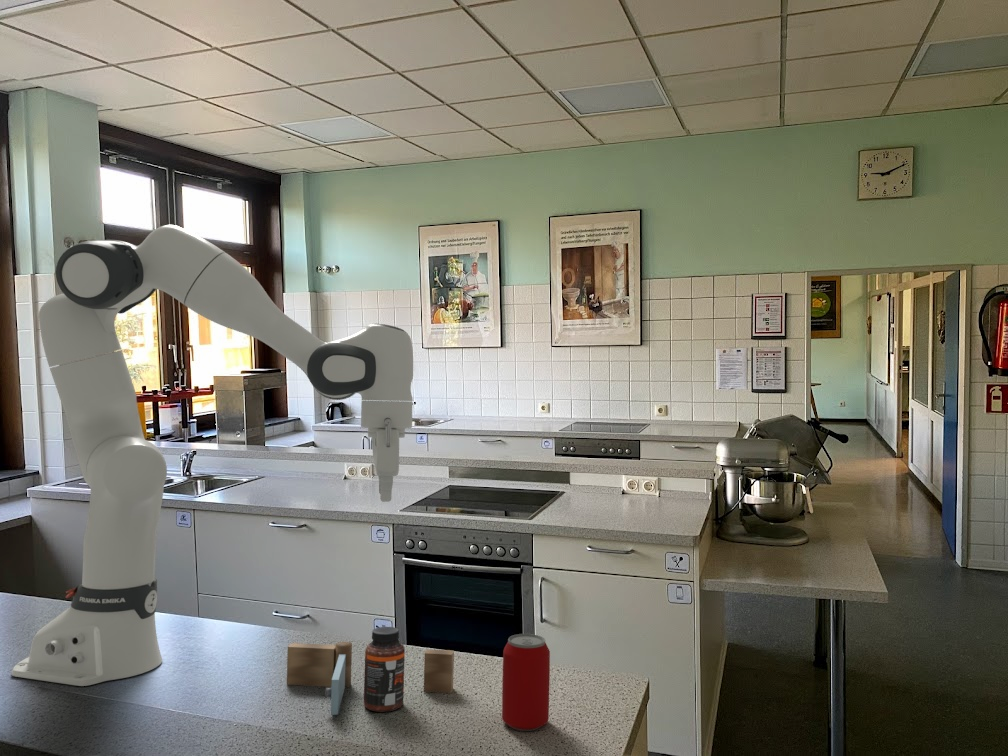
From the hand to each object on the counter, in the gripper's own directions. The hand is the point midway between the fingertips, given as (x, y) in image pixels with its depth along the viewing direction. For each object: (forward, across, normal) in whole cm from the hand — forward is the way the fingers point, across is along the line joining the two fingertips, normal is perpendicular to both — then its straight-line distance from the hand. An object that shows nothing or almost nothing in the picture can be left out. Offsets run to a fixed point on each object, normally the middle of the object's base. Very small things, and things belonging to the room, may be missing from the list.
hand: (384, 497), depth 134 cm
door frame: (+29, -9, +2) cm, 30 cm away
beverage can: (+29, -26, -20) cm, 44 cm away
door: (+29, -15, +7) cm, 33 cm away
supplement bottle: (+29, -17, 0) cm, 34 cm away
